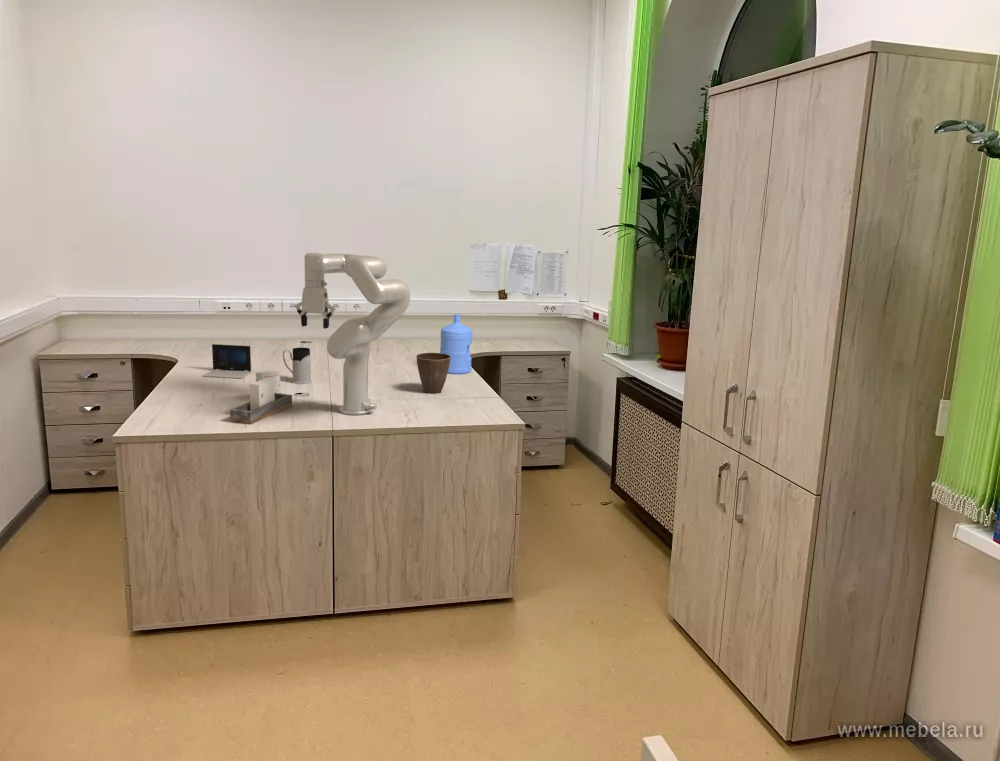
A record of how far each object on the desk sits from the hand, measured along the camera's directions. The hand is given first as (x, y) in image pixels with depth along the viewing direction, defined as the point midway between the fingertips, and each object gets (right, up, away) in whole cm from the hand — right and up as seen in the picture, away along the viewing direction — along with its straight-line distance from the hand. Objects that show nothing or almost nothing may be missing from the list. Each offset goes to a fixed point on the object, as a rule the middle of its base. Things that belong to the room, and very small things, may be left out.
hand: (315, 327), depth 306 cm
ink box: (-20, -30, +4) cm, 36 cm away
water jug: (+52, -17, +71) cm, 90 cm away
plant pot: (+45, -27, +29) cm, 59 cm away
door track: (-16, -34, -15) cm, 41 cm away
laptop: (-51, -19, +43) cm, 69 cm away
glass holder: (-17, -22, +37) cm, 46 cm away
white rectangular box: (-16, -33, -16) cm, 40 cm away
